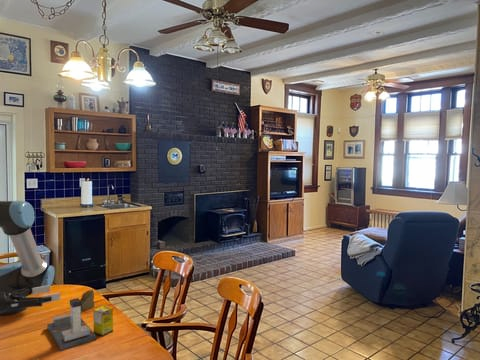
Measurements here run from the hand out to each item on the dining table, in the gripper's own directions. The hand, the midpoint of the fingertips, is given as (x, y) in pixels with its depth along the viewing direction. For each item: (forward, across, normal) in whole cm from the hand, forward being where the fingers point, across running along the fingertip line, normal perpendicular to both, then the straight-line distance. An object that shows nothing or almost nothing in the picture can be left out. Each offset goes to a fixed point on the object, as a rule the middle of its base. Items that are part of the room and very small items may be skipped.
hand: (54, 292), depth 148 cm
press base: (+9, -8, -22) cm, 25 cm away
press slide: (+8, +1, -20) cm, 22 cm away
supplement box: (+20, 0, -22) cm, 30 cm away
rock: (+23, -31, -21) cm, 44 cm away
